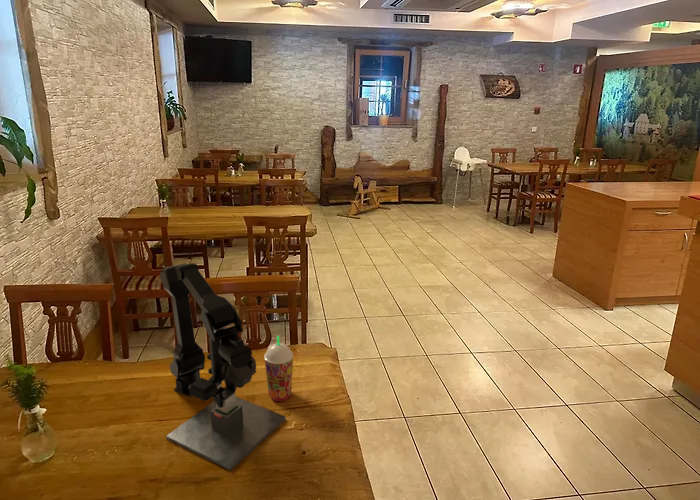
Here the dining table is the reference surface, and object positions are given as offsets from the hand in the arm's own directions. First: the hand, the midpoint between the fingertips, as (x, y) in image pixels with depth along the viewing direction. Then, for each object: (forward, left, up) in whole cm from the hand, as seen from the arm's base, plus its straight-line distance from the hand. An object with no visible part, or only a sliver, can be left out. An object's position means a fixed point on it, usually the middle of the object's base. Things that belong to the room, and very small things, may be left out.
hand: (225, 403), depth 126 cm
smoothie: (-19, +3, -8) cm, 21 cm away
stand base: (0, 0, -8) cm, 8 cm away
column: (0, 0, -6) cm, 6 cm away
